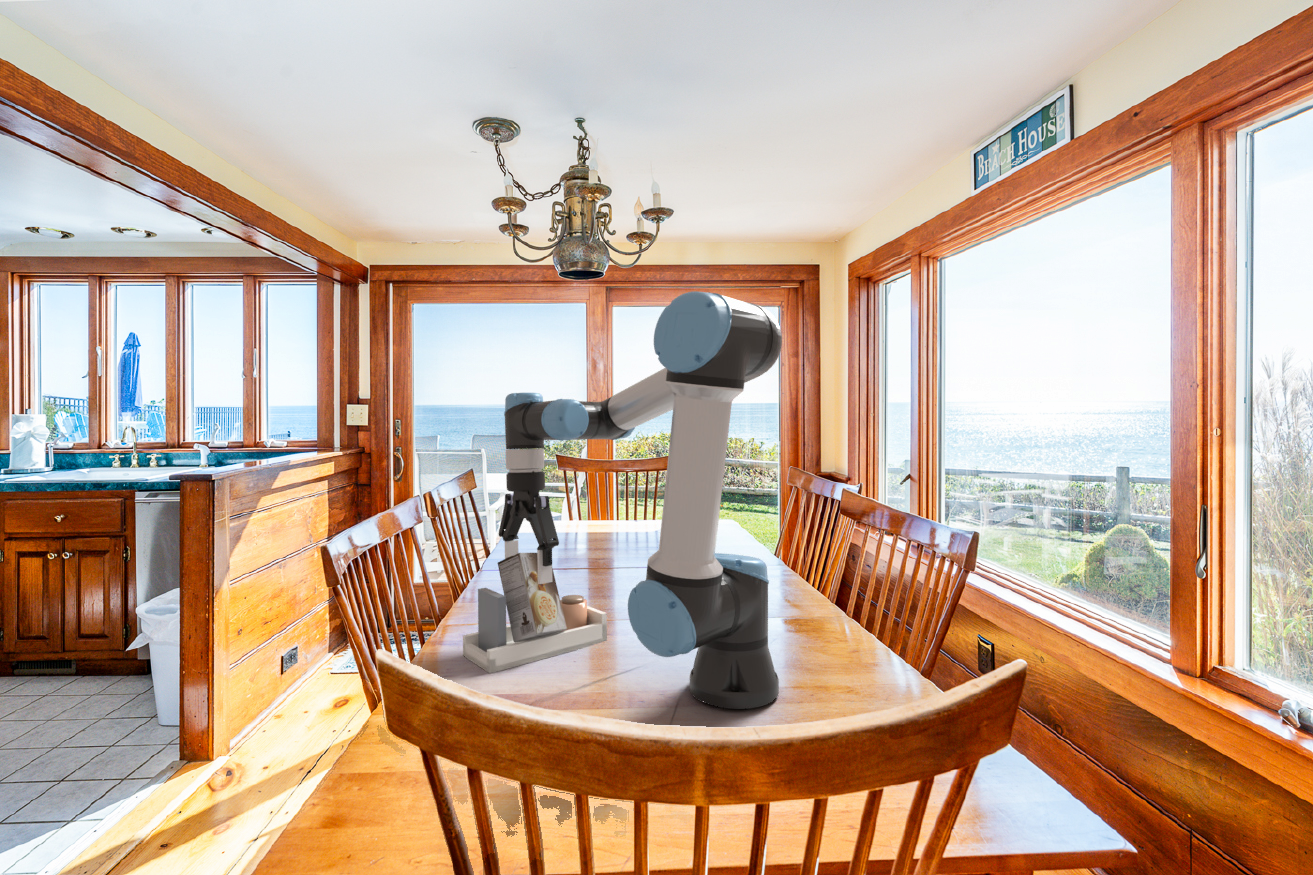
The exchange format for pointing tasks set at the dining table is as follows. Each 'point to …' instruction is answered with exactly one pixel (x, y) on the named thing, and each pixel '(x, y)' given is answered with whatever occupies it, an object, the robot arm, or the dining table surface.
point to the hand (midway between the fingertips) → (528, 577)
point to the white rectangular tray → (536, 644)
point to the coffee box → (530, 598)
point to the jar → (574, 611)
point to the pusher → (491, 619)
